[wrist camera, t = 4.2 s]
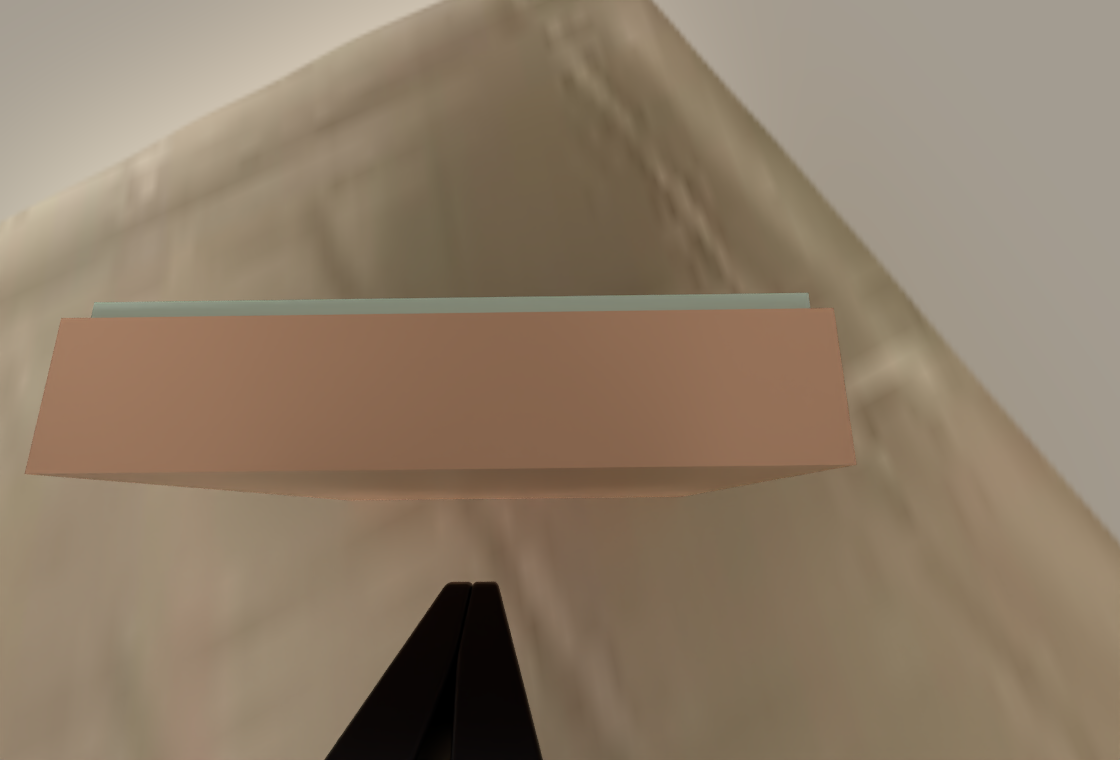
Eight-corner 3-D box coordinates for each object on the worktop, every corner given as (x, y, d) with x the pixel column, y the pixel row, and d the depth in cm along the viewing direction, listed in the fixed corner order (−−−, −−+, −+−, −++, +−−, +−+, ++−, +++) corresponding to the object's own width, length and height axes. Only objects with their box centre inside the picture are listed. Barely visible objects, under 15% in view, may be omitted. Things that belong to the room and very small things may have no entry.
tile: (681, 496, 16) (856, 464, 6) (348, 500, 16) (24, 473, 6) (676, 420, 17) (829, 286, 7) (355, 424, 17) (65, 296, 7)
